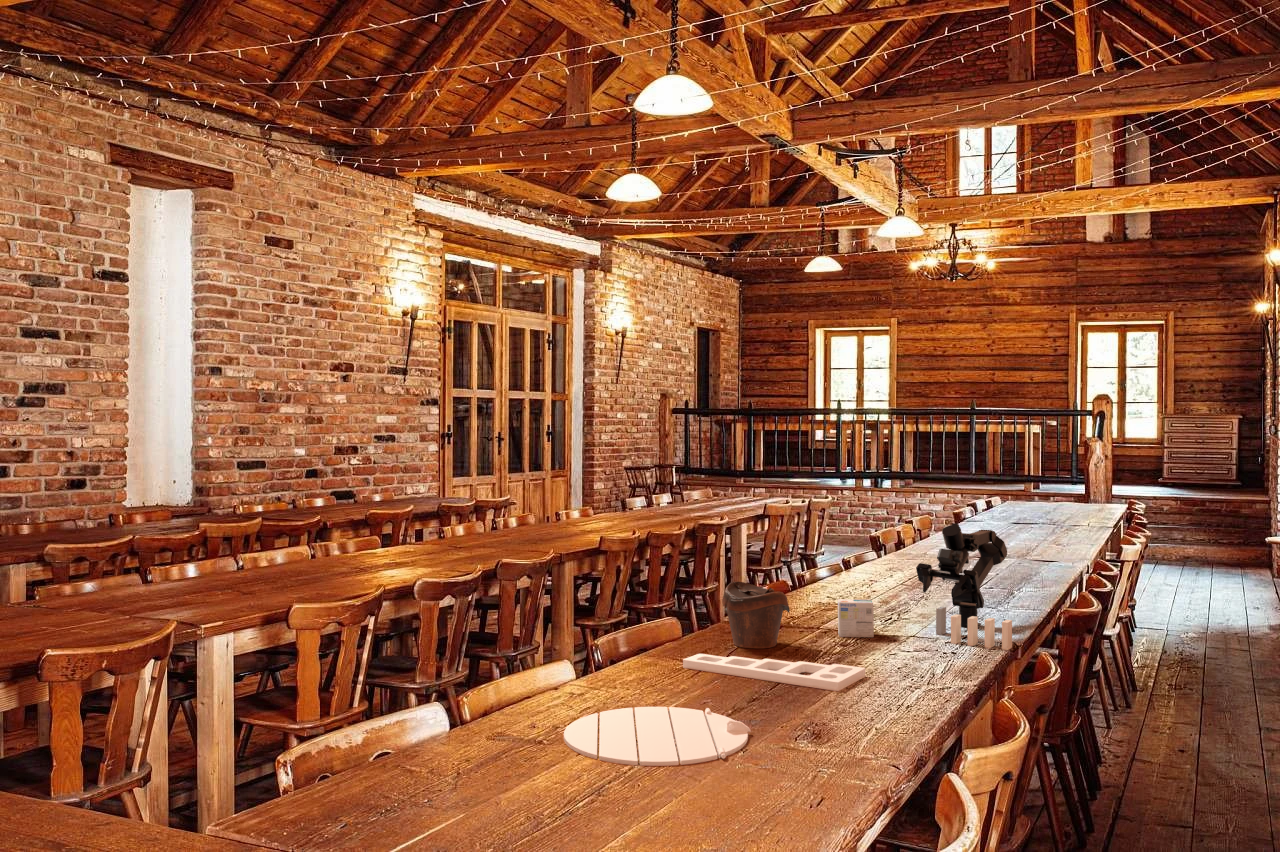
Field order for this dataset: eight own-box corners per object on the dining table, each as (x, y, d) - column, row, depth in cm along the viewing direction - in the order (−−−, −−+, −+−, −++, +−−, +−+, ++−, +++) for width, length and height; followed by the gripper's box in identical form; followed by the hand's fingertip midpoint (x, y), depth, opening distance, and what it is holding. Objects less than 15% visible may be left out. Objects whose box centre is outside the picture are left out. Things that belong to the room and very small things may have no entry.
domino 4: (989, 644, 318) (989, 617, 318) (994, 645, 317) (994, 618, 317) (984, 647, 314) (984, 620, 314) (990, 648, 313) (990, 620, 313)
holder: (682, 669, 291) (682, 659, 291) (715, 657, 306) (715, 647, 306) (838, 693, 266) (838, 682, 266) (865, 678, 281) (865, 668, 281)
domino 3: (972, 642, 321) (972, 616, 321) (977, 643, 320) (977, 616, 320) (967, 645, 317) (967, 618, 317) (972, 646, 316) (972, 618, 316)
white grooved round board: (739, 710, 250) (739, 695, 250) (764, 766, 211) (764, 748, 211) (567, 712, 248) (566, 697, 248) (560, 768, 209) (560, 751, 209)
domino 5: (1006, 646, 315) (1006, 619, 315) (1011, 647, 314) (1011, 620, 314) (1001, 649, 311) (1001, 622, 311) (1007, 650, 310) (1007, 622, 310)
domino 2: (955, 640, 324) (955, 614, 323) (960, 641, 323) (961, 614, 323) (950, 643, 320) (950, 616, 320) (956, 644, 319) (956, 617, 319)
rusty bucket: (788, 652, 308) (787, 589, 308) (718, 649, 312) (718, 588, 312) (791, 640, 326) (791, 581, 326) (726, 638, 330) (725, 579, 330)
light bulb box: (871, 633, 335) (871, 598, 335) (874, 637, 328) (874, 602, 328) (837, 632, 336) (837, 598, 336) (838, 637, 329) (838, 602, 329)
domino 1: (940, 632, 336) (941, 606, 336) (945, 632, 335) (946, 607, 335) (936, 634, 333) (936, 608, 333) (941, 635, 332) (941, 609, 332)
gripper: (922, 537, 339) (904, 569, 329) (981, 545, 328) (964, 578, 318) (928, 564, 345) (910, 596, 334) (986, 573, 334) (969, 606, 323)
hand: (938, 593), depth 327 cm, fingers open, 9 cm apart
